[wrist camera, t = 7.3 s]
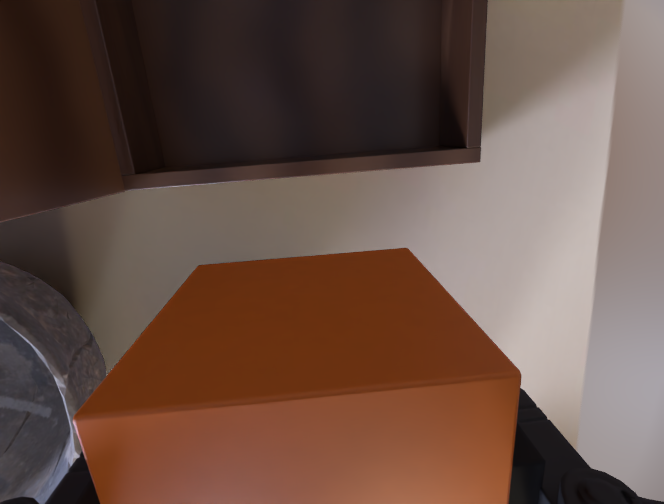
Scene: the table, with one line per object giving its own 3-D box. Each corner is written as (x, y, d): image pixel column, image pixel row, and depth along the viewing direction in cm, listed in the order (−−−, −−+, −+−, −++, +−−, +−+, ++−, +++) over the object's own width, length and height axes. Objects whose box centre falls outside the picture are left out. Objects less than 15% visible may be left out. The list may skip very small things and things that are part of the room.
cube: (408, 246, 13) (524, 372, 6) (408, 417, 15) (495, 652, 8) (197, 264, 12) (68, 418, 6) (229, 436, 14) (163, 697, 8)
